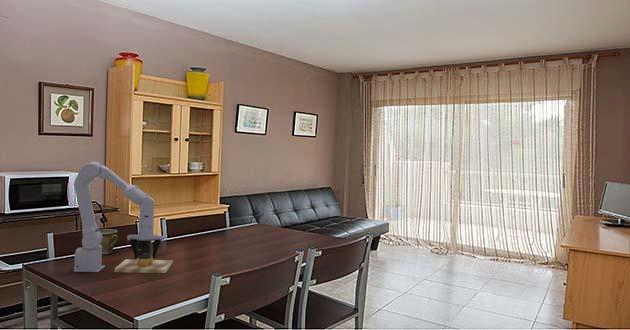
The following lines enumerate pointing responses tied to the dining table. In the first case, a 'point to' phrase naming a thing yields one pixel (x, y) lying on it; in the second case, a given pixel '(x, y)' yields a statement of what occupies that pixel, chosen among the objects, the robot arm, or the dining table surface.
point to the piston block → (132, 266)
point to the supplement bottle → (144, 247)
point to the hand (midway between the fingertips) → (145, 257)
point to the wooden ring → (144, 261)
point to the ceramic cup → (108, 240)
